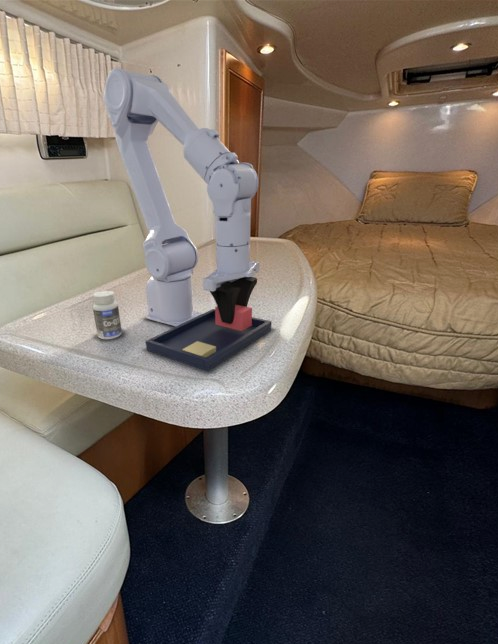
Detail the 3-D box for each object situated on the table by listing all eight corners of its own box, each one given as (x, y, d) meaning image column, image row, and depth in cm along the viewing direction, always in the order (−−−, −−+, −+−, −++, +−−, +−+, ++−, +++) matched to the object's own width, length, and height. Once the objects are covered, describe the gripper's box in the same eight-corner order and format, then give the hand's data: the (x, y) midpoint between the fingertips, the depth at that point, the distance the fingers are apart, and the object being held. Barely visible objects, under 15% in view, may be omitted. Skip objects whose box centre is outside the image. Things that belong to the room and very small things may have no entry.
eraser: (215, 324, 68) (214, 307, 67) (225, 319, 71) (225, 302, 69) (242, 331, 65) (242, 312, 63) (251, 325, 67) (252, 307, 65)
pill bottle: (107, 342, 68) (99, 299, 64) (93, 336, 71) (85, 294, 68) (127, 333, 71) (121, 292, 67) (112, 328, 74) (106, 288, 71)
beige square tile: (182, 354, 60) (182, 349, 59) (197, 346, 62) (197, 340, 62) (201, 361, 57) (201, 355, 57) (216, 351, 60) (216, 346, 60)
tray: (146, 350, 64) (145, 340, 63) (213, 316, 77) (213, 308, 76) (208, 371, 55) (207, 361, 55) (271, 330, 68) (271, 321, 68)
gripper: (227, 253, 54) (228, 337, 60) (275, 238, 64) (271, 311, 70) (191, 250, 58) (195, 328, 64) (241, 236, 68) (240, 305, 74)
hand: (232, 319), depth 67 cm, fingers closed on eraser, 3 cm apart
